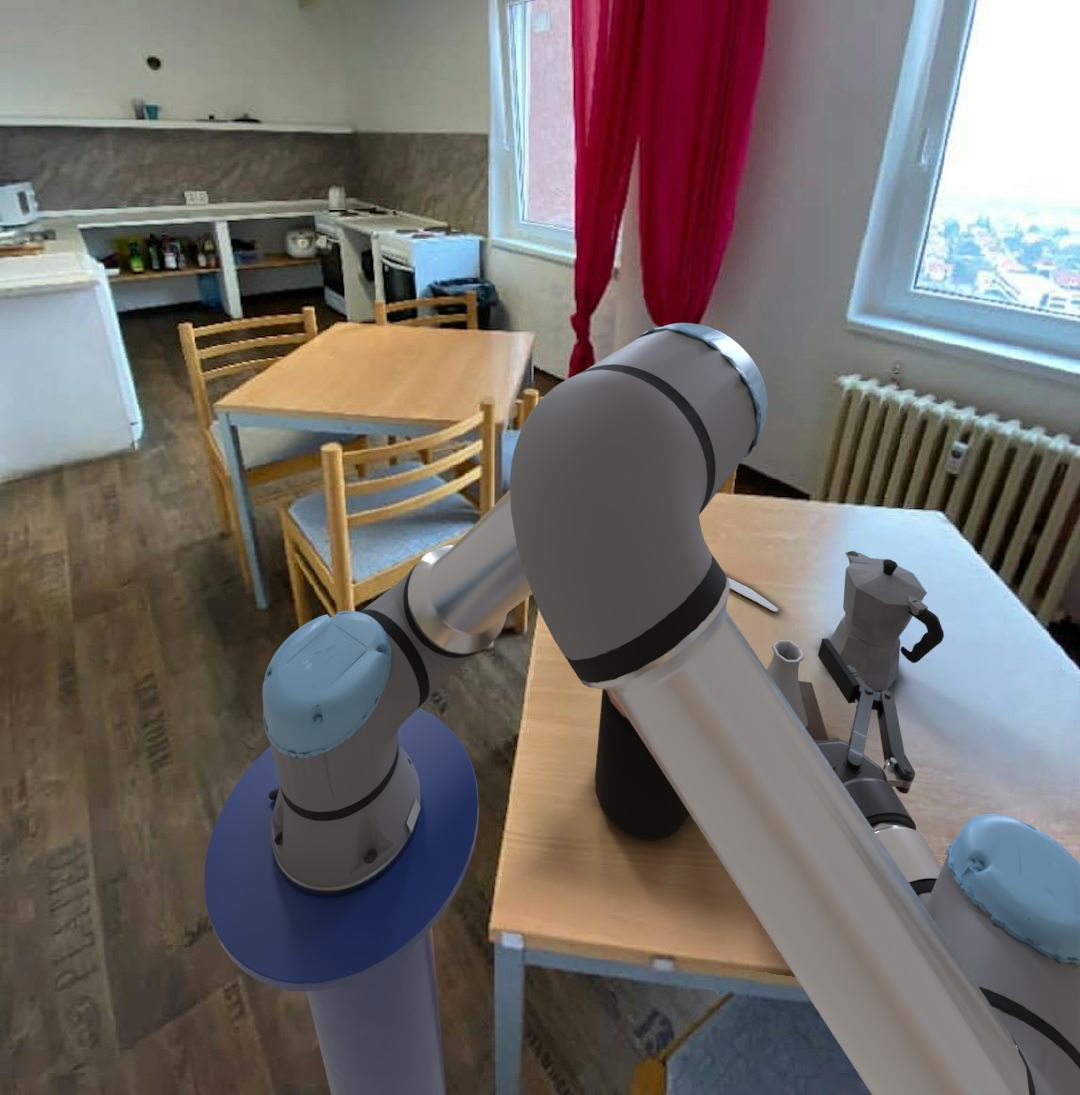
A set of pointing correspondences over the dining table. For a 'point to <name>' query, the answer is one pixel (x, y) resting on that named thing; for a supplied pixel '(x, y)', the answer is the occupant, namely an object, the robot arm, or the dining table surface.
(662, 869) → the dining table surface
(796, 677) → the flask
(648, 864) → the dining table surface
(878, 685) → the coffeepot
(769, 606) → the butter knife
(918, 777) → the dining table surface
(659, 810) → the coffee jar
